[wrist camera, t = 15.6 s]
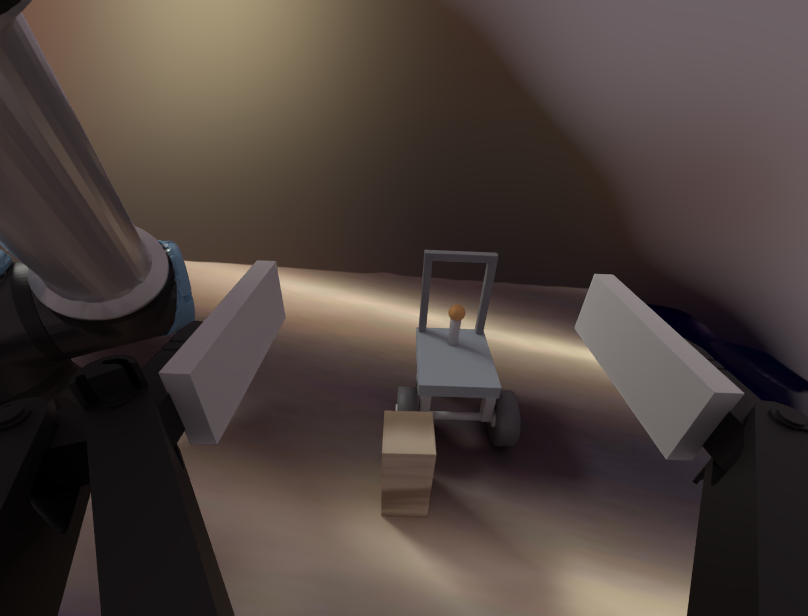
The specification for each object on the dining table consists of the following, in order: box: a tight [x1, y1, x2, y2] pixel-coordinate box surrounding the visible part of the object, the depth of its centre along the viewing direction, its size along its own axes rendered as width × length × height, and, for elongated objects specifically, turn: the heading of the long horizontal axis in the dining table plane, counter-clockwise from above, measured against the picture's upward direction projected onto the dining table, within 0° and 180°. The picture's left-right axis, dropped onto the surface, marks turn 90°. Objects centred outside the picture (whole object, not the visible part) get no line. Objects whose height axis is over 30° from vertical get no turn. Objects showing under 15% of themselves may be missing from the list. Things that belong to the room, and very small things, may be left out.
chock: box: [381, 411, 436, 517], centre depth 37 cm, size 5×5×11 cm
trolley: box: [396, 250, 521, 447], centre depth 45 cm, size 15×15×22 cm
